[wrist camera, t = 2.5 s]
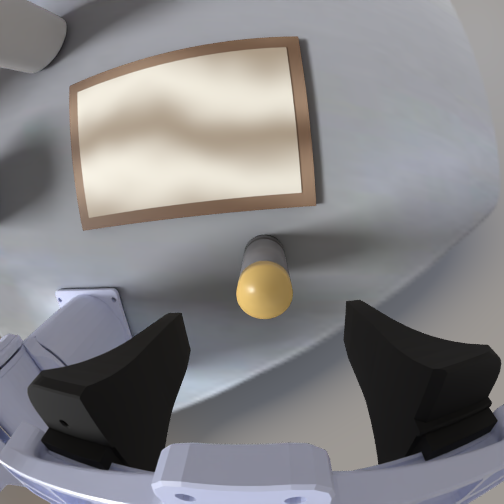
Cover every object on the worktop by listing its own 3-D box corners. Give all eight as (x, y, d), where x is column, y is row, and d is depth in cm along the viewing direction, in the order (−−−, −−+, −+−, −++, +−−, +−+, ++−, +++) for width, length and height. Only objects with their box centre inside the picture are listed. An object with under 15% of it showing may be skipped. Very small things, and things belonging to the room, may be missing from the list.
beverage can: (76, 10, 15) (0, -31, 4) (65, 63, 17) (-28, 35, 6) (32, 32, 15) (-42, 9, 4) (22, 83, 17) (-64, 72, 6)
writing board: (314, 204, 20) (316, 205, 20) (86, 229, 22) (82, 230, 21) (297, 39, 17) (298, 36, 16) (73, 87, 18) (68, 85, 17)
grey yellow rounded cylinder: (285, 270, 22) (293, 316, 15) (246, 273, 22) (239, 320, 16) (282, 233, 21) (291, 266, 15) (242, 236, 21) (233, 270, 15)
